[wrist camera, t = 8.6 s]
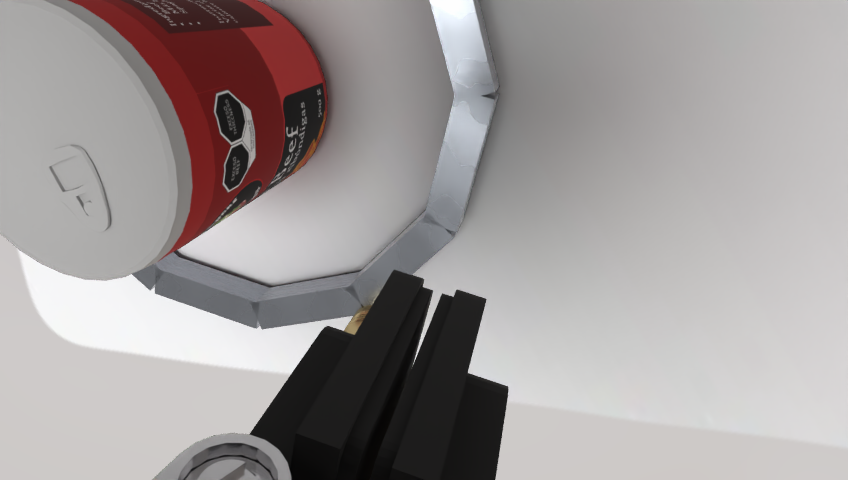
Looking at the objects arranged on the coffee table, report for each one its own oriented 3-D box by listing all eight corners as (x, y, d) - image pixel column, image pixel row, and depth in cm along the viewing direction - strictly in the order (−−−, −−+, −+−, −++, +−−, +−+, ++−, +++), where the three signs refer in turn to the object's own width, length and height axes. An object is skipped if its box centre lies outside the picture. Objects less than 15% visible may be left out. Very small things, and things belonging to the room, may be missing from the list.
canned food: (253, 206, 27) (76, 324, 18) (140, 66, 26) (-122, 109, 16) (370, 116, 24) (236, 198, 14) (250, -49, 23) (10, -83, 13)
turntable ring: (-3, -281, 21) (-85, -321, 19) (569, -150, 19) (569, -174, 16) (38, 233, 31) (-13, 256, 28) (421, 365, 28) (405, 403, 26)
